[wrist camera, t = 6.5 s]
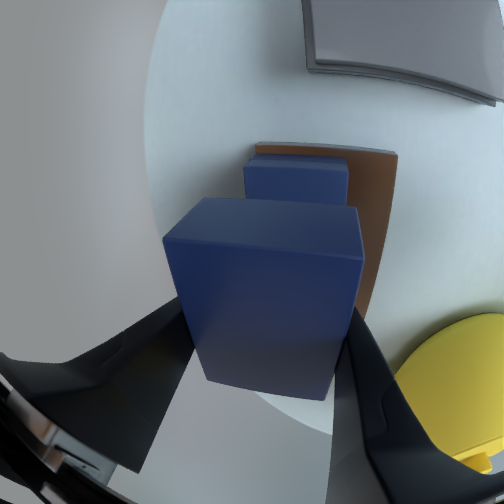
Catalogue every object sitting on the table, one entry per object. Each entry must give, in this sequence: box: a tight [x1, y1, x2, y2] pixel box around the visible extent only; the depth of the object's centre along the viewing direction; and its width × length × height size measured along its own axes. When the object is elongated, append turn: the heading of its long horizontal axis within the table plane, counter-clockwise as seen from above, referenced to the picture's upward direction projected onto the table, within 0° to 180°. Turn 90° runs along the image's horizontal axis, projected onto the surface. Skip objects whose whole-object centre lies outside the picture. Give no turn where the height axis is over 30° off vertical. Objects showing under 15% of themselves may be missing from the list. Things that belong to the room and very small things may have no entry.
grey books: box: [301, 0, 504, 107], centre depth 7 cm, size 11×8×3 cm
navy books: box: [243, 154, 349, 206], centre depth 15 cm, size 7×5×3 cm
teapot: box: [394, 313, 504, 474], centre depth 15 cm, size 25×18×14 cm
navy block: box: [162, 198, 365, 401], centre depth 9 cm, size 7×5×3 cm
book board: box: [256, 142, 398, 319], centre depth 19 cm, size 8×20×1 cm, turn 3°
